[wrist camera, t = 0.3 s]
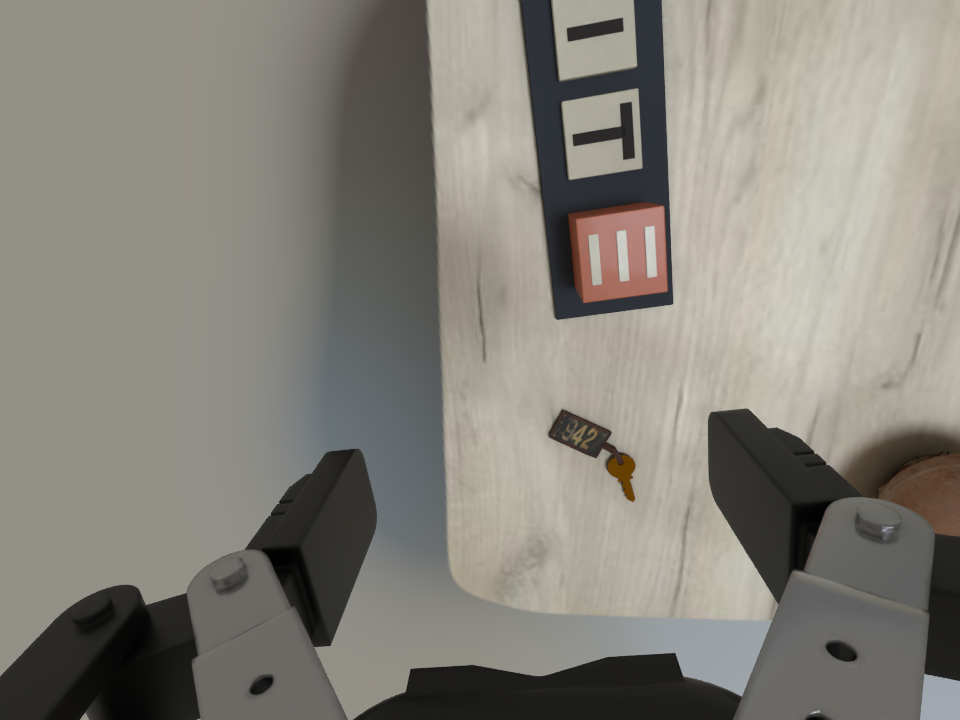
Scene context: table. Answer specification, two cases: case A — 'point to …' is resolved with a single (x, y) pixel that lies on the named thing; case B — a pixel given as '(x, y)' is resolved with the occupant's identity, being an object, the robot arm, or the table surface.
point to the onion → (929, 490)
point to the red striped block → (619, 251)
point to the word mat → (597, 124)
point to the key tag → (593, 446)
